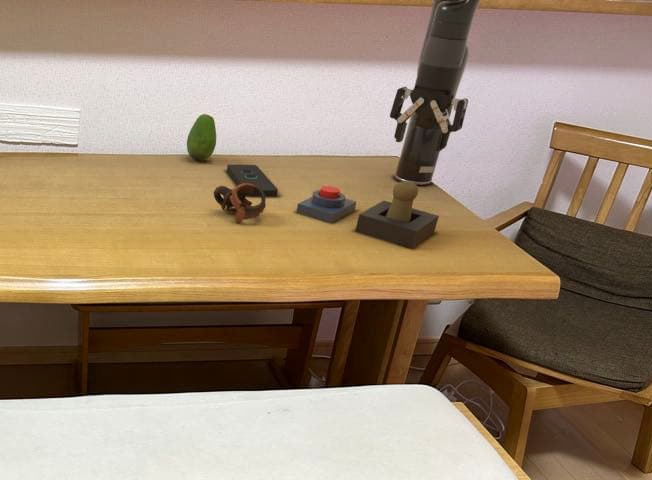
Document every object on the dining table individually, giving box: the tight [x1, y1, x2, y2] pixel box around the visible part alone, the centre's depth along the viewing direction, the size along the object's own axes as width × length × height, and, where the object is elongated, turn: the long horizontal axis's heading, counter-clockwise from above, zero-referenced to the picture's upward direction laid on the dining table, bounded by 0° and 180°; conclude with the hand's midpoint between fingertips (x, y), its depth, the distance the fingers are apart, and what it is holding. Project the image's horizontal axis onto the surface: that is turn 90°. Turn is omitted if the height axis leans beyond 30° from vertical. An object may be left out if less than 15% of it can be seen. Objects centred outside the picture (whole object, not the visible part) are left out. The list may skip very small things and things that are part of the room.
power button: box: [319, 185, 341, 199], centre depth 173 cm, size 4×4×2 cm
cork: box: [386, 181, 419, 223], centre depth 164 cm, size 6×6×11 cm
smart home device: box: [226, 163, 279, 198], centre depth 189 cm, size 8×2×20 cm
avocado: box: [186, 113, 217, 162], centre depth 200 cm, size 8×8×12 cm
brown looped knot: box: [213, 183, 267, 224], centre depth 168 cm, size 12×9×8 cm
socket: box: [354, 200, 440, 249], centre depth 166 cm, size 13×13×4 cm
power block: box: [295, 189, 357, 224], centre depth 174 cm, size 12×9×4 cm
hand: (418, 145), depth 156 cm, fingers open, 8 cm apart
